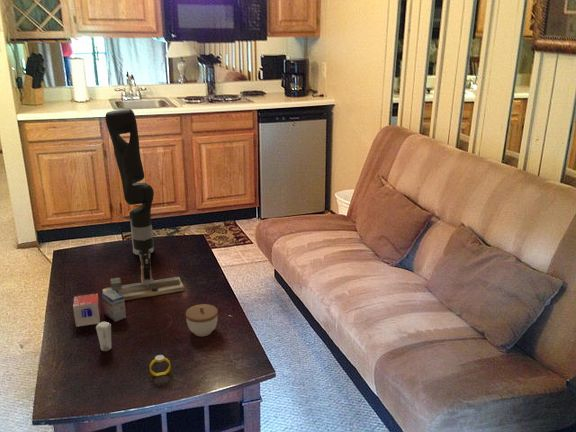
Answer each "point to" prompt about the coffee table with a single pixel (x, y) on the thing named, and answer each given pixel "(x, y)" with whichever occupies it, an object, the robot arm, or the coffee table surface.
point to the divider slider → (147, 281)
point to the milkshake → (104, 335)
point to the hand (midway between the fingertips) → (146, 276)
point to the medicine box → (113, 305)
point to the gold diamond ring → (160, 359)
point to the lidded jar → (202, 319)
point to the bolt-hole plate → (149, 293)
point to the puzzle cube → (86, 309)
